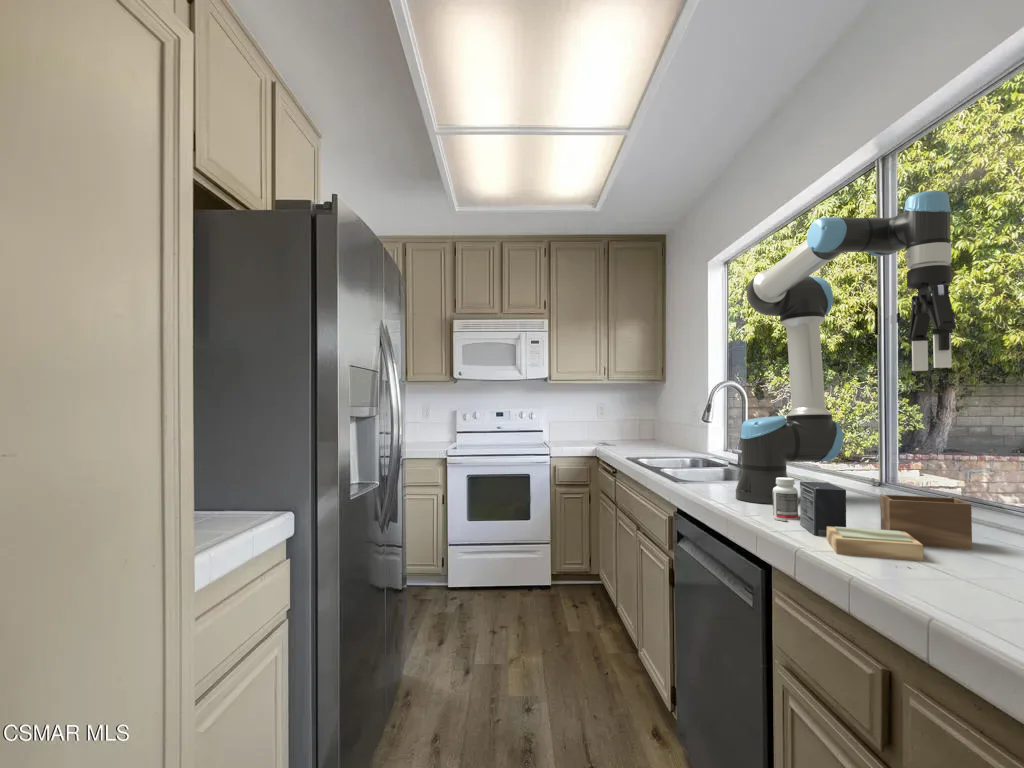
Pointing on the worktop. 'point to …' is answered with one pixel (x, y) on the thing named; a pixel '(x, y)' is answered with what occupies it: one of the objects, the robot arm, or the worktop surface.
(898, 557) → the lid
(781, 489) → the pill bottle
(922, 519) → the tea box
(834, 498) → the small box
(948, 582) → the worktop surface
